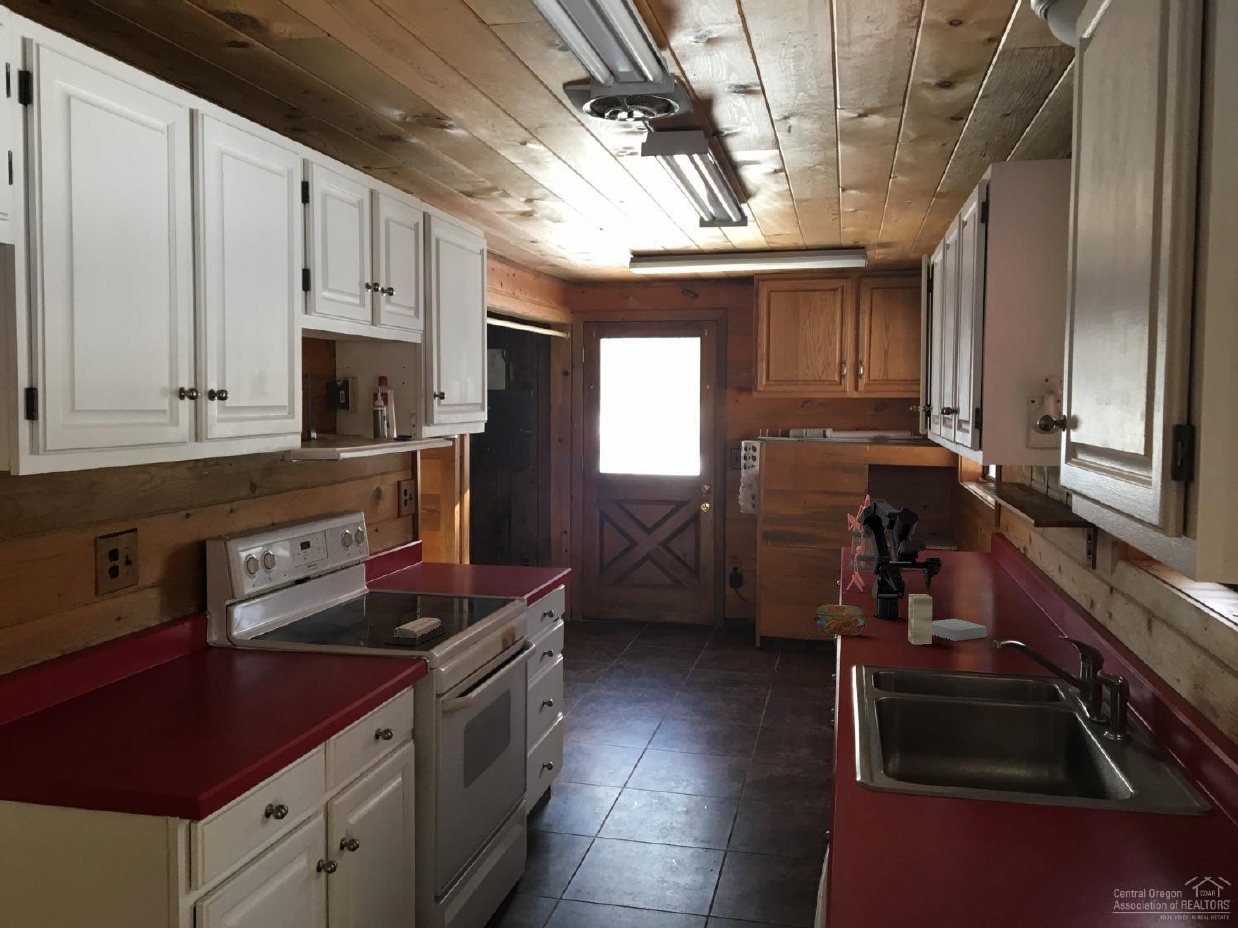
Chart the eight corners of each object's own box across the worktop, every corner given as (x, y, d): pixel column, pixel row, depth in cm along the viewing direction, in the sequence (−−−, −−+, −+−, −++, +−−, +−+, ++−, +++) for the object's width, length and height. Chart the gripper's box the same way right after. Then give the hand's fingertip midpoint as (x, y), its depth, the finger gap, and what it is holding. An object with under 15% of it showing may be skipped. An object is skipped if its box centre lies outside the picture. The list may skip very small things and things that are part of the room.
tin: (813, 632, 275) (813, 603, 274) (816, 630, 278) (816, 601, 277) (865, 637, 268) (865, 608, 268) (867, 635, 271) (868, 606, 270)
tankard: (844, 572, 387) (845, 523, 386) (845, 566, 403) (846, 519, 402) (904, 574, 381) (905, 525, 380) (903, 568, 397) (904, 521, 396)
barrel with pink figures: (840, 594, 334) (844, 496, 333) (849, 583, 359) (852, 491, 357) (885, 598, 329) (889, 498, 328) (891, 587, 353) (895, 493, 352)
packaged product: (416, 615, 275) (447, 617, 272) (416, 631, 275) (447, 634, 273) (384, 627, 258) (417, 630, 255) (384, 645, 258) (417, 647, 255)
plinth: (923, 632, 275) (923, 622, 274) (954, 628, 280) (954, 618, 280) (954, 640, 264) (955, 630, 264) (986, 636, 269) (986, 626, 269)
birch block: (908, 640, 265) (908, 594, 264) (926, 640, 265) (926, 594, 264) (913, 644, 260) (914, 597, 259) (931, 644, 260) (932, 597, 259)
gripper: (875, 528, 274) (885, 572, 264) (940, 529, 274) (952, 573, 263) (868, 552, 282) (877, 595, 272) (931, 552, 282) (942, 596, 271)
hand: (912, 589), depth 269 cm, fingers open, 9 cm apart
